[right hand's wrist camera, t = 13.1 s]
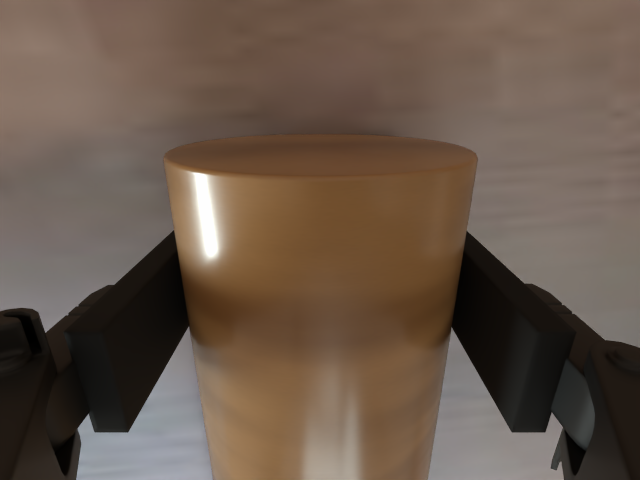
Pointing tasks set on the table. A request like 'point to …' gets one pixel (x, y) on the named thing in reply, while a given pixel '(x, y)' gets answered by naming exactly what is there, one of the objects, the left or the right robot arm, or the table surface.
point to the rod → (320, 298)
